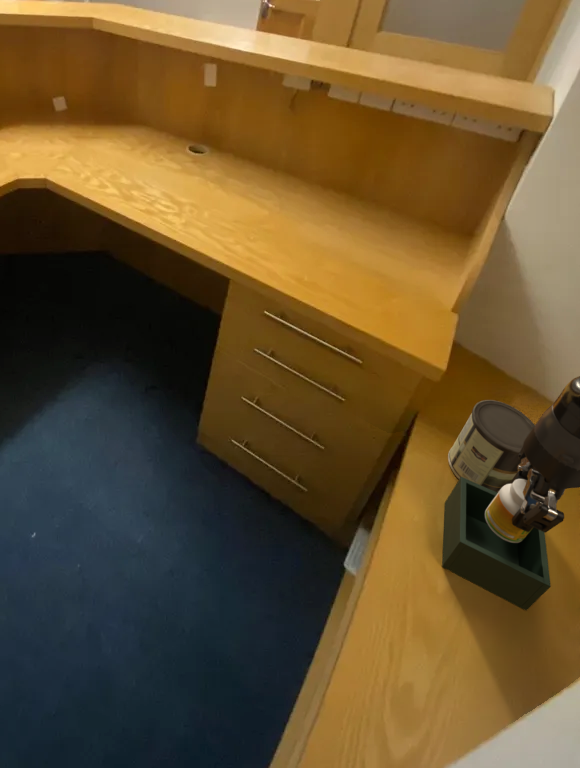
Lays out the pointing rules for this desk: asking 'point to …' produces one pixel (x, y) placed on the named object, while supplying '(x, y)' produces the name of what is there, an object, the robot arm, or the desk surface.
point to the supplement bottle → (507, 511)
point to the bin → (491, 549)
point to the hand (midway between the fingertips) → (518, 507)
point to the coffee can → (490, 444)
